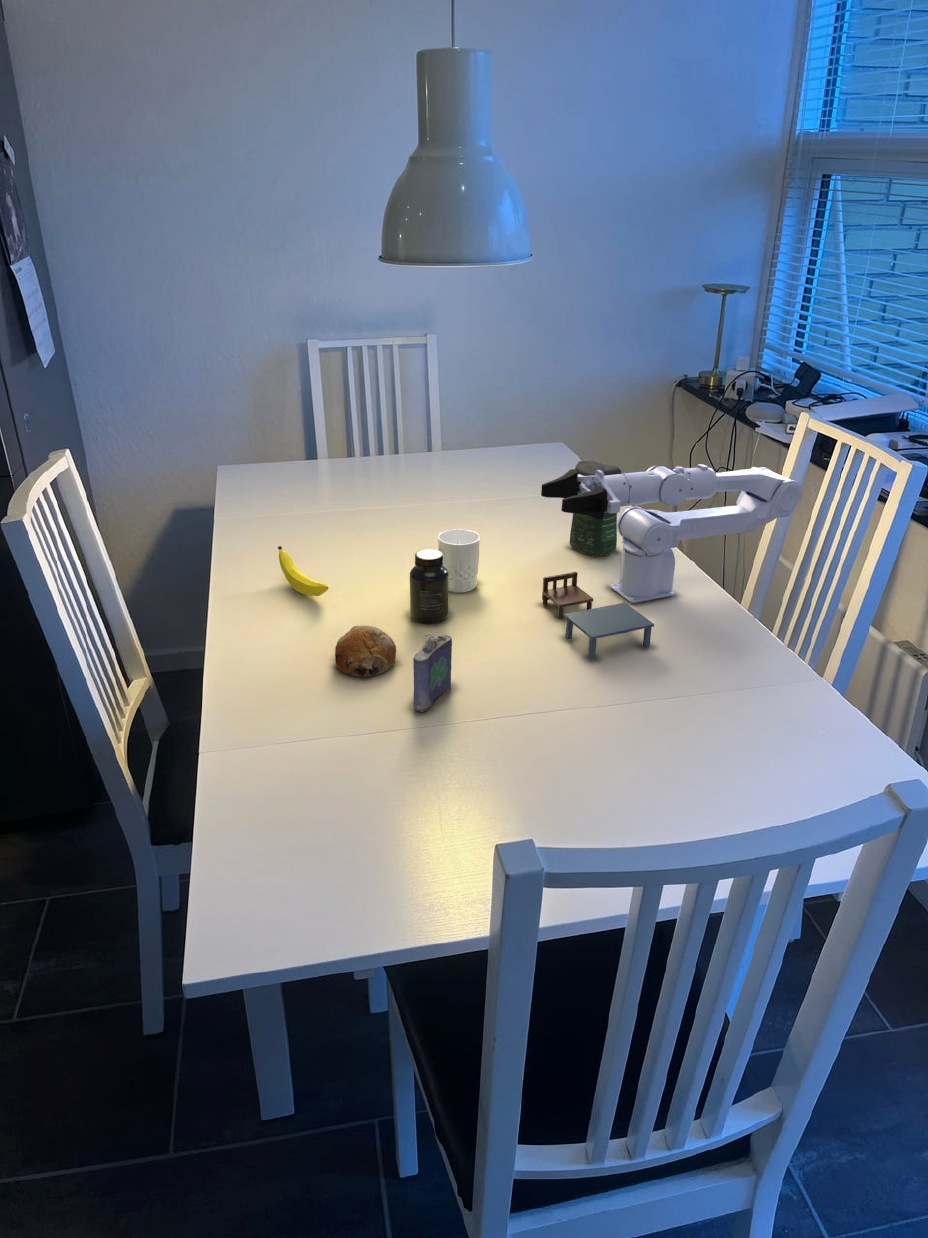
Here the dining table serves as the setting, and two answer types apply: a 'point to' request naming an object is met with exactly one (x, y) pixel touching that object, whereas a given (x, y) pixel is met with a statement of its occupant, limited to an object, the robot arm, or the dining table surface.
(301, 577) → the banana
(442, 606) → the supplement bottle
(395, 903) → the dining table surface
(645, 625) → the table
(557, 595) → the chair
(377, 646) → the bread roll
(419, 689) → the flask
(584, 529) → the coffee jar
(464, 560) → the white cup
